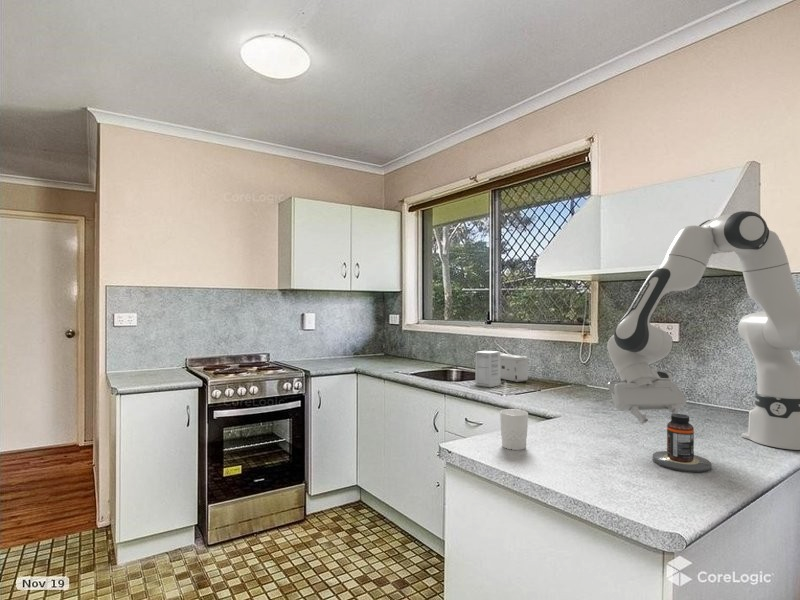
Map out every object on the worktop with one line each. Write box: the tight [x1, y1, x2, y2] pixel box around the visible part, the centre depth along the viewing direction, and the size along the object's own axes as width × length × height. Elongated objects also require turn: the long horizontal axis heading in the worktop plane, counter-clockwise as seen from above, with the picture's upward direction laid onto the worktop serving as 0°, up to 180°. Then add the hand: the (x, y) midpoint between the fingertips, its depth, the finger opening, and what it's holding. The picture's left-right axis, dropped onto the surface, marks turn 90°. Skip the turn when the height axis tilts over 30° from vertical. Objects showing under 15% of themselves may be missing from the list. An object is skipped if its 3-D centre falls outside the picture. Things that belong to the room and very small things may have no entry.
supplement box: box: [474, 350, 502, 388], centre depth 235 cm, size 10×9×17 cm
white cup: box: [499, 408, 529, 451], centre depth 136 cm, size 8×8×10 cm
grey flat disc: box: [652, 450, 712, 474], centre depth 121 cm, size 13×13×1 cm
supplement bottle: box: [666, 413, 695, 462], centre depth 121 cm, size 6×6×11 cm
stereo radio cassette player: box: [493, 340, 529, 383], centre depth 253 cm, size 21×8×20 cm, turn 30°
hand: (660, 421), depth 130 cm, fingers open, 8 cm apart
